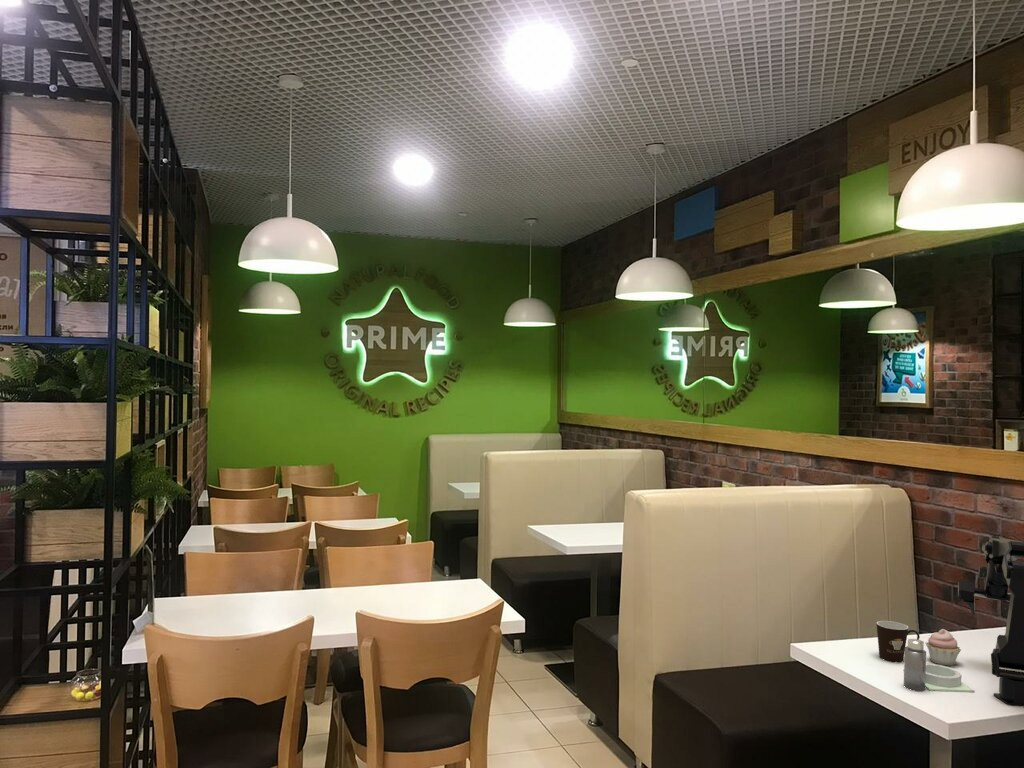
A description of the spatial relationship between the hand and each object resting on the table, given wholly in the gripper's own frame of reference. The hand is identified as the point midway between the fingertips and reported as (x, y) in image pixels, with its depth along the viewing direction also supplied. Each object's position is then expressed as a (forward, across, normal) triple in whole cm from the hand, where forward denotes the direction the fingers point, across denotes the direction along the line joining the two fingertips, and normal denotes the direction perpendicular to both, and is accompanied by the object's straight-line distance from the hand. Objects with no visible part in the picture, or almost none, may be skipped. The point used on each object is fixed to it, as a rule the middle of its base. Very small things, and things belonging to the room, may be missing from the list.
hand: (991, 617), depth 229 cm
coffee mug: (+9, +24, +16) cm, 30 cm away
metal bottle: (-2, +19, +36) cm, 41 cm away
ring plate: (+2, +13, +28) cm, 31 cm away
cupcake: (+11, +12, +12) cm, 20 cm away
